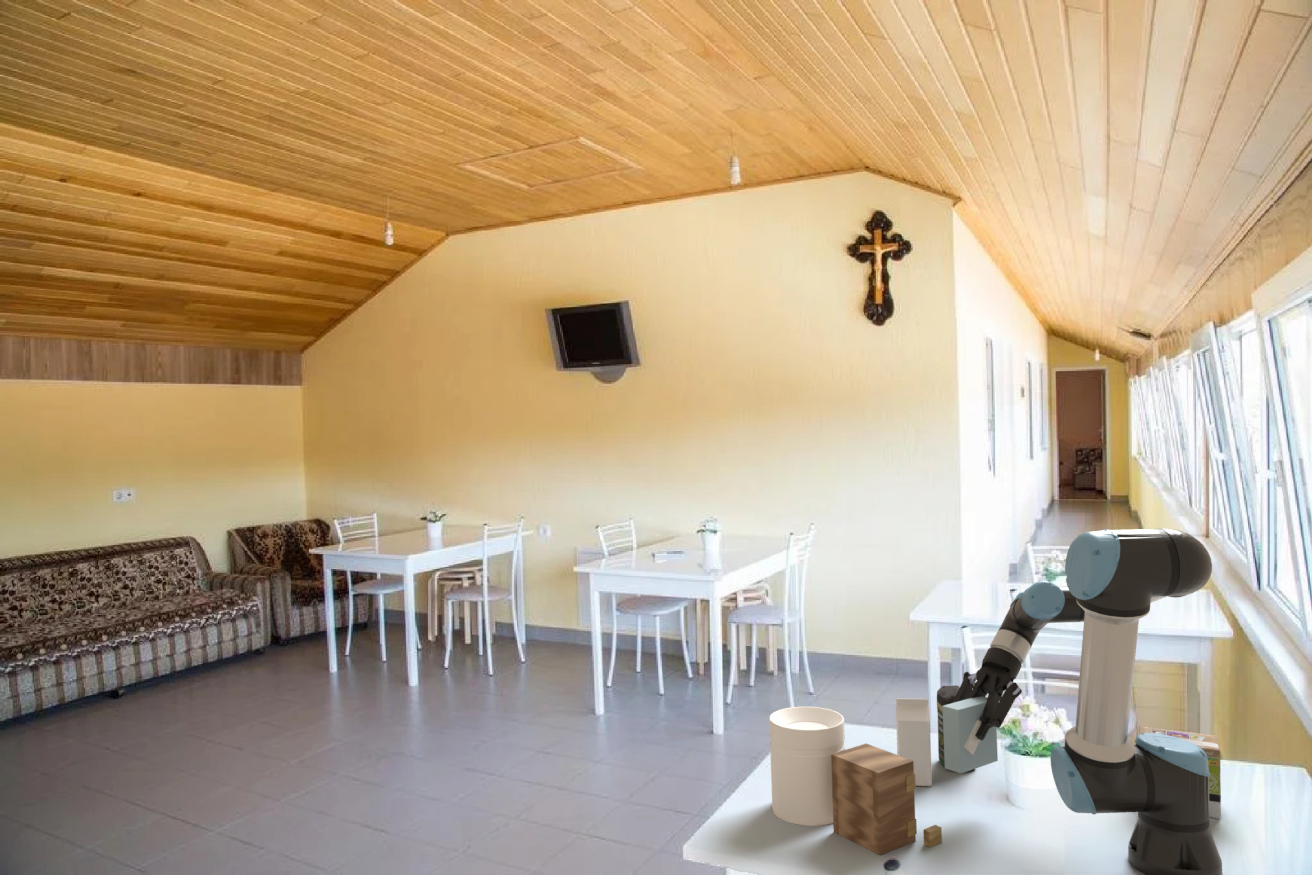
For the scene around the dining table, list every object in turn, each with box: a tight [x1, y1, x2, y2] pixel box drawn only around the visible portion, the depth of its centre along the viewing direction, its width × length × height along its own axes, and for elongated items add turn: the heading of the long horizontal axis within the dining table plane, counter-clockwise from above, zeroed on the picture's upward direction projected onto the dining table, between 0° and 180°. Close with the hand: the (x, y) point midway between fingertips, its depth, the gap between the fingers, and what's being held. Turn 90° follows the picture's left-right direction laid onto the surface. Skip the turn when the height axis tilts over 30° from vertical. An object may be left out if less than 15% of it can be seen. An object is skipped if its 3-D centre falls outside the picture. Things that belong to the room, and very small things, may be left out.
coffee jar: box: [936, 684, 960, 767], centre depth 222 cm, size 10×8×19 cm
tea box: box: [1138, 725, 1222, 820], centre depth 196 cm, size 15×10×15 cm
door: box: [943, 696, 999, 774], centre depth 194 cm, size 4×12×13 cm, turn 123°
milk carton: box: [895, 697, 933, 787], centre depth 214 cm, size 7×7×19 cm
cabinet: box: [831, 743, 943, 856], centre depth 186 cm, size 16×14×16 cm
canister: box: [769, 706, 846, 827], centre depth 200 cm, size 16×16×20 cm
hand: (958, 747), depth 192 cm, fingers closed on door, 4 cm apart
